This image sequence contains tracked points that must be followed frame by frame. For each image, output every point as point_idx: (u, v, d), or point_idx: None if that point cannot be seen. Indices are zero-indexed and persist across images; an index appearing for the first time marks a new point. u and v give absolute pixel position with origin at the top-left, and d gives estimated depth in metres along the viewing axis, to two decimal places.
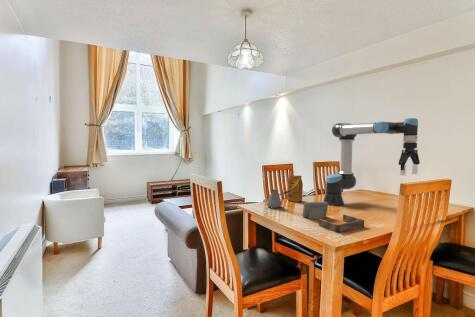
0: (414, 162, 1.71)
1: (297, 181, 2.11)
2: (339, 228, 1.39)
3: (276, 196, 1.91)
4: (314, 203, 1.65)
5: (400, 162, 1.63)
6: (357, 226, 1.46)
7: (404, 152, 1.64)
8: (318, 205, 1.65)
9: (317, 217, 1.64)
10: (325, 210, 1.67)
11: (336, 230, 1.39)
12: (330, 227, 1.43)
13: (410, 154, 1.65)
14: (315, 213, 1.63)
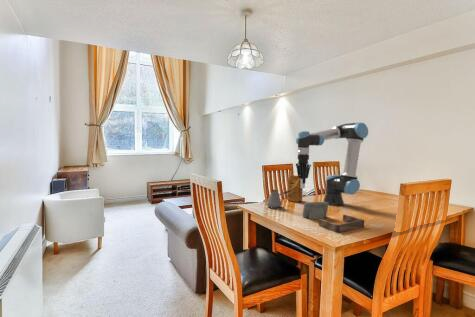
0: None
1: (297, 181, 2.11)
2: (339, 228, 1.39)
3: (276, 196, 1.91)
4: (314, 203, 1.65)
5: None
6: (357, 226, 1.46)
7: None
8: (318, 205, 1.65)
9: (317, 217, 1.64)
10: (325, 210, 1.67)
11: (336, 230, 1.39)
12: (330, 227, 1.43)
13: (300, 165, 1.77)
14: (315, 213, 1.64)
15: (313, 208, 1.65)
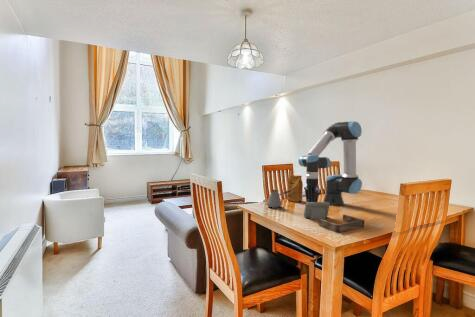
0: None
1: (297, 181, 2.11)
2: (339, 228, 1.39)
3: (276, 196, 1.91)
4: (316, 203, 1.64)
5: None
6: (357, 226, 1.46)
7: None
8: (320, 205, 1.64)
9: (319, 217, 1.63)
10: (326, 210, 1.66)
11: (336, 230, 1.39)
12: (330, 227, 1.43)
13: (308, 190, 1.70)
14: (317, 213, 1.63)
15: (314, 208, 1.64)
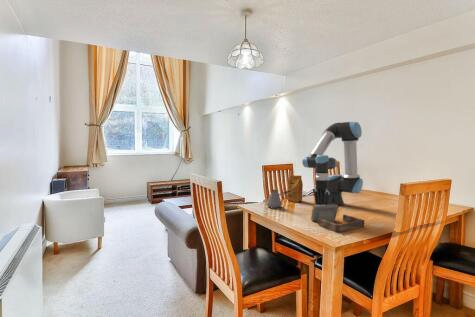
0: None
1: (297, 181, 2.11)
2: (339, 228, 1.39)
3: (276, 196, 1.91)
4: (324, 206, 1.56)
5: None
6: (357, 226, 1.46)
7: None
8: (328, 208, 1.57)
9: None
10: (335, 213, 1.59)
11: (336, 230, 1.39)
12: (330, 227, 1.43)
13: (318, 192, 1.63)
14: (325, 216, 1.55)
15: (322, 211, 1.57)
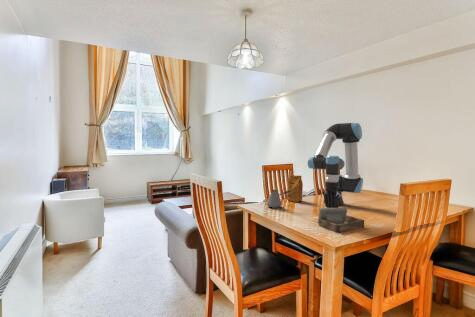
0: None
1: (297, 181, 2.11)
2: (339, 228, 1.39)
3: (276, 196, 1.91)
4: (331, 209, 1.49)
5: None
6: (357, 226, 1.46)
7: None
8: (336, 211, 1.49)
9: None
10: (343, 217, 1.51)
11: (336, 230, 1.39)
12: (330, 227, 1.43)
13: (328, 194, 1.55)
14: (332, 220, 1.48)
15: (330, 215, 1.50)
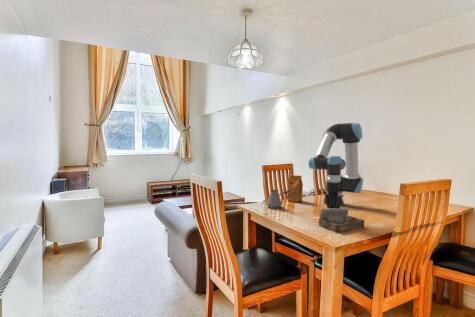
0: None
1: (297, 181, 2.11)
2: (339, 228, 1.39)
3: (276, 196, 1.91)
4: (332, 210, 1.48)
5: None
6: (357, 226, 1.46)
7: None
8: (337, 212, 1.48)
9: None
10: (345, 218, 1.50)
11: (336, 230, 1.39)
12: (330, 227, 1.43)
13: (330, 195, 1.54)
14: (333, 220, 1.47)
15: (331, 215, 1.49)
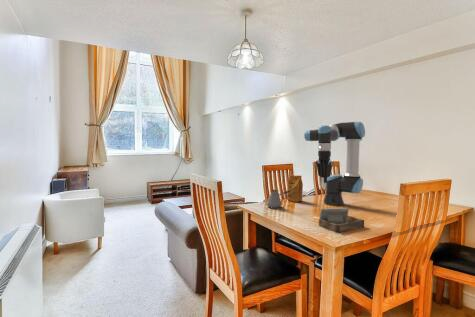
0: None
1: (297, 181, 2.11)
2: (339, 228, 1.39)
3: (276, 196, 1.91)
4: (332, 210, 1.48)
5: None
6: (357, 226, 1.46)
7: None
8: (337, 212, 1.48)
9: None
10: (345, 218, 1.50)
11: (336, 230, 1.39)
12: (330, 227, 1.43)
13: (321, 163, 1.61)
14: (333, 220, 1.47)
15: (331, 215, 1.49)
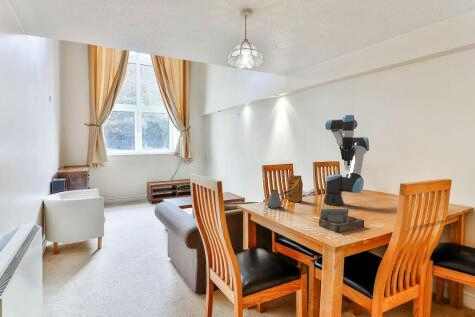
0: None
1: (297, 181, 2.11)
2: (339, 228, 1.39)
3: (276, 196, 1.91)
4: (332, 210, 1.48)
5: None
6: (357, 226, 1.46)
7: None
8: (337, 212, 1.48)
9: None
10: (345, 218, 1.50)
11: (336, 230, 1.39)
12: (330, 227, 1.43)
13: (344, 148, 1.82)
14: (333, 220, 1.47)
15: (331, 215, 1.49)
